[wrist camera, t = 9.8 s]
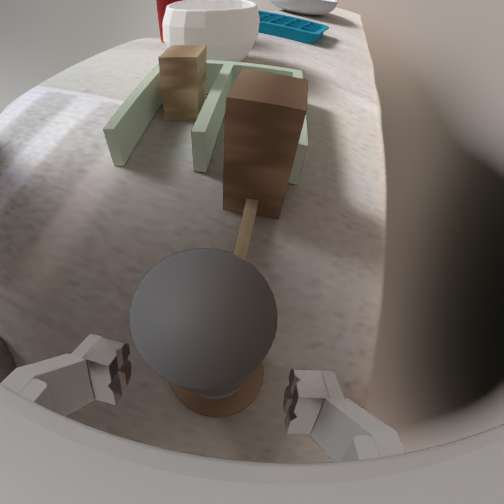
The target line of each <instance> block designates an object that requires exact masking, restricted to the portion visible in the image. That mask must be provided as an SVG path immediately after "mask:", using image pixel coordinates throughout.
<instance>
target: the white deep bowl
mask: <svg viewBox="0 0 504 504" xmlns="http://www.w3.org/2000/svg"><path fill="white" fill-rule="evenodd" d="M259 22H260V17H259V12H258V7H257V5H256V4H255V3H253V2H251V1H246V0H183V1H178V2H174V3H172V4H169V5H167V7H166V11H165V15H164V18H163V22H162V28H163V41H164V43H165V46H166V48H167V49H168V48H169V47H170V46H171V45H207V54H206V60H219V61H233V62H241V61H242V60H243V59H244V58H245V57H246V56H247V55H248V54H249V52H250V51H251V49H252V47H253V45H254V43H255V41H256V39H257V36H258V31H259Z"/></svg>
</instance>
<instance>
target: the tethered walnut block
mask: <svg viewBox="0 0 504 504" xmlns="http://www.w3.org/2000/svg"><path fill="white" fill-rule="evenodd" d="M307 93H308V80H306V79H302V78H297V77H292V76H287V75H281V74H275V73H269V72H263V71H256V70H249V69H242V70H241V71H240V73H239V75H238V77H237V78H236V80H235V82H234V84H233V85H232V87H231V89H230V91H229V93H228V95H227V96H226V111H225V139H224V175H223V209H226V210H231V211H237V212H242V213H243V215H242V219H241V223H240V227H239V231H238V236H237V240H236V244H235V248H234V252H233V254H231V253H229V252H226V251H222V250H217V249H210V248H198V249H190V250H185V251H181V252H178V253H175V254H173V255H171V256H169V257H167V258H165V259H163V260H162V261H160V262H159V263H157V264H156V265H155V266H154V267H152V268H151V269H150V270H149V271H148V272H147V273H146V275H145V276H144V277H143V279H142V280H141V281H140V283H139V285H138V286H137V288H136V290H135V293H134V295H133V298H132V302H131V306H130V314H129V323H130V330H131V335H132V338H133V342H134V344H135V346H136V348H137V350H138V352H139V354H140V355H141V357H142V358H143V360H144V361H145V362H146V363H147V364H148V366H149V367H151V368H152V369H153V370H154V371H155V372H156V373H158V374H159V375H160V376H162V377H163V378H165V379H167V380H169V381H170V384H171V387H172V389H173V391H174V393H175V395H176V396H177V397H178V399H179V400H180V401H181V402H182V403H183V404H184V405H185V406H186V407H188V408H189V409H191V410H192V411H194V412H197V413H199V414H202V415H205V416H211V417H222V416H228V415H232V414H235V413H237V412H239V411H241V410H243V409H244V408H245V407H247V406H248V405H249V404H250V403H251V402H252V401H253V400H254V399H255V397H256V396H257V394H258V392H259V390H260V388H261V385H262V381H263V364H262V360H263V359H264V357H265V356H266V354H267V353H268V351H269V349H270V347H271V345H272V342H273V340H274V337H275V332H276V328H277V309H276V304H275V300H274V297H273V294H272V291H271V289H270V287H269V285H268V283H267V282H266V281H265V279H264V278H263V276H262V275H261V274H260V273H259V272H258V271H257V270H256V269H255V268H254V267H253V266H252V265H251V264H249V263H248V262H247V261H246V259H247V255H248V250H249V245H250V240H251V236H252V231H253V226H254V222H255V217H256V215H258V216H263V217H268V218H273V219H279V216H280V212H281V208H282V205H283V201H284V197H285V193H286V189H287V186H288V182H289V178H290V174H291V170H292V166H293V163H294V159H295V155H296V151H297V147H298V143H299V139H300V135H301V131H302V127H303V123H304V119H305V115H306V111H307Z"/></svg>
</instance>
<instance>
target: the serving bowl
mask: <svg viewBox="0 0 504 504" xmlns="http://www.w3.org/2000/svg"><path fill="white" fill-rule="evenodd" d="M269 1H270V2H271V3H272V4H274V5H275V6H278V7H280V8H282V9H284V10H286V11H289V12H293V13H298V14H303V15H322V14H327V13H329V12H331V11H332V10H334V8H335V7H336V5H337V1H336V0H269Z"/></svg>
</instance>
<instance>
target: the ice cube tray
mask: <svg viewBox="0 0 504 504" xmlns="http://www.w3.org/2000/svg"><path fill="white" fill-rule="evenodd" d="M258 12H259V17H260V22H259V31H258V32H260V33H265V34H270V35H275V36H279V37H284V38H288V39H292V40H296V41H300V42H304V43H308V44H313V43H314V42H316V41H317V40H318V39H320V38H321V37H322V35H323V32H324V31H326V30H327V29H329V27H328V26H326V25H323V24H319V23H315V22H312V21H308V20H304V19H299V18H295V17H291V16H286V15H281V14H276V13H270V12H264V11H258Z"/></svg>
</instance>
